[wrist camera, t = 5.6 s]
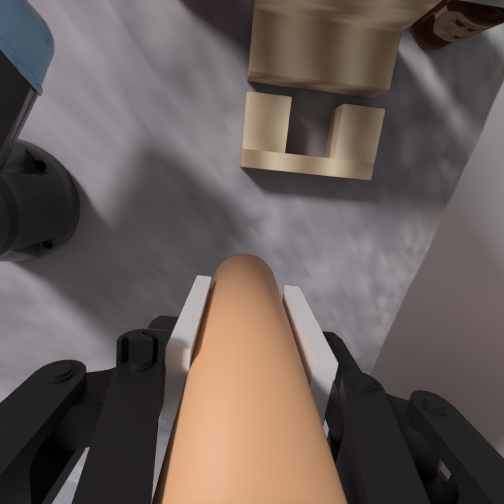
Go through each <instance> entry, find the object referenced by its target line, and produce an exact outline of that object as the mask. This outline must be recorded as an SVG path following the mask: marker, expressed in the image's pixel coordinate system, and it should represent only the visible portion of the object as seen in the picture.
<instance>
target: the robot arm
mask: <svg viewBox="0 0 504 504" xmlns="http://www.w3.org/2000/svg"><path fill="white" fill-rule="evenodd" d="M53 54H54V39H53V36H52V33H51V31H50V29H49V27H48V25H47V24H46V22H45V21H44V20H43V18H42V17H41V16H40V14H39V13H38V12H37V11H36V10H35V9H34V8H33V7H32V6H31V5H30V4H29V3H28V1H27V0H0V261H27V260H32V259H36V258H39V257H42V256H44V255H47V254H49V253H51V252H53V251H55V250H57V249H59V248H60V247H61V246H63V245H64V244H65V243H66V242H67V241H68V240H69V239H70V237H71V236H72V234H73V233H74V231H75V228H76V226H77V223H78V219H79V200H78V195H77V191H76V188H75V186H74V184H73V182H72V180H71V178H70V176H69V174H68V173H67V171H66V170H65V169H64V168H63V166H62V165H61V164H60V163H59V162H58V161H57V160H56V159H55V158H54V157H53V156H52V155H50V154H49V153H48V152H46V151H45V150H43V149H42V148H40V147H38V146H36V145H34V144H32V143H29V142H27V141H23V140H20V139H17V138H18V136H19V134H20V132H21V130H22V128H23V126H24V124H25V122H26V120H27V118H28V115H29V113H30V111H31V109H32V107H33V105H34V103H35V101H36V99H37V97H38V95H40V96H41V94H42V92H43V89H42V83H43V80H44V78H45V75H46V73H47V70H48V67H49V65H50V62H51V60H52V57H53ZM211 280H212V277H208V276H200V275H197V277H196V280H195V282H194V284H193V286H192V289H191V291H190V293H189V296H188V298H187V300H186V303H185V305H184V307H183V309H182V312H181V314H180V316H179V317H171V316H159V317H157V318H156V319H154V320H153V321H152V322H151V323H150V325H149V327H148V329H138V330H133V331H129V332H126V333H125V334H123V335H121V336H120V337H119V339H118V340H117V357H116V367H115V368H112V369H109V370H103V371H96V372H88V373H86V366H85V365H84V364H83V363H82V362H80V361H76V360H60V361H56V362H52V363H50V364H47V365H45V366H43V367H41V368H40V369H38V370H37V371H35V372H34V373H33V374H32V375H31V376H30V377H29V378H28V379H27V380H25V381H24V382H23V383H22V384H21V385H20V386H19V387H18V388H16V389H15V390H14V391H13V392H12V393H11V394H10V395H9V396H8V397H6V398H5V399H4V400H3V401H2V402H1V403H0V504H52V502H53V501H54V499H55V498H56V496H57V494H58V493H59V491H60V489H61V488H62V486H63V485H64V483H65V481H66V480H67V478H68V477H69V475H70V473H71V472H72V470H73V468H74V467H75V465H76V464H77V462H78V460H79V459H80V457H81V455H82V454H83V452H84V450H85V448H87V447H90V448H89V451H88V454H87V457H86V461H85V464H84V467H83V470H82V473H81V476H80V479H79V482H78V485H77V489H76V492H75V495H74V498H73V501H72V504H151V501H152V490H153V478H154V467H155V455H156V443H157V432H158V419H159V416H160V413H161V410H162V414H161V420H172V421H174V420H175V416H176V413H177V409H178V405H179V401H180V398H181V394H182V390H183V387H184V383H185V380H186V377H187V374H188V372H189V369H190V365H191V361H192V357H193V354H194V350H195V346H196V342H197V339H198V335H199V331H200V327H201V324H202V320H203V316H204V312H205V309H206V305H207V301H208V297H209V294H210V289H211ZM282 302H283V306H284V309H285V312H286V315H287V318H288V321H289V324H290V327H291V330H292V333H293V336H294V340H295V343H296V346H297V349H298V352H299V355H300V358H301V361H302V364H303V367H304V370H305V374H306V377H307V380H308V383H309V386H310V389H311V392H312V395H313V398H314V401H315V404H316V407H317V411H318V414H319V417H320V420H321V423H322V426H323V425H324V421H325V419H326V422H327V425H328V428H329V432H328V436H327V441H328V445H329V448H330V451H331V454H332V457H333V460H334V463H335V466H336V469H337V472H338V475H339V479H340V482H341V485H342V488H343V491H344V494H345V497H346V500H347V503H348V504H504V458H503V457H502V456H501V455H500V454H499V453H498V452H497V451H496V450H495V449H494V448H493V447H492V446H491V445H490V443H488V442H487V440H486V439H485V438H484V437H483V436H482V435H481V434H480V433H479V432H478V431H477V430H476V429H475V428H474V427H473V426H472V425H471V424H470V423H469V422H468V421H467V420H466V419H465V418H464V416H463V415H461V413H460V412H459V411H458V410H457V409H456V408H455V407H454V406H453V405H451V404H450V403H449V402H448V401H447V400H445V399H443V398H442V397H440V396H439V395H437V394H433V393H431V392H427V391H422V390H419V391H414V392H413V393H412V394H411V396H410V399H409V401H408V400H404V399H401V398H398V397H395V396H392V395H389V394H386V393H385V391H384V388H383V387H382V385H381V384H380V383H379V382H378V381H377V380H376V379H374V378H373V377H371V376H369V375H368V374H365V373H362V372H361V370H360V368H359V367H358V365H357V363H356V362H355V360H354V359H353V357H352V355H351V354H350V352H349V350H348V349H347V348H346V345H345V344H344V342H343V341H342V339H341V338H340V337H338V336H337V335H336V334H335V333H333V332H324V331H321V329H320V327H319V325H318V323H317V321H316V319H315V317H314V315H313V313H312V311H311V309H310V308H309V306H308V304H307V302H306V300H305V298H304V296H303V294H302V292H301V290H300V288H299V287H296V286H287V285H285V288H284V294H283V300H282ZM443 463H444V464H445V466H446V467H447V468H448V470H449V471H450V472H451V476H450V478H449V480H448V479H447V478H446V477H445V476H444V474H443V473H442V472H441V467H442V465H443Z"/></svg>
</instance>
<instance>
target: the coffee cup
mask: <svg viewBox="0 0 504 504" xmlns="http://www.w3.org/2000/svg"><path fill="white" fill-rule="evenodd" d="M502 23H504V8H503V7H497V6H491V5H485V4H479V3H473V2H467V1H461V0H442V1H441V2H439V3H438V4H437V5H436V6H434V7H433V8H432V9H431V10H429V11H428V12H427V13H426V14H425V15H423V16H422V17H421V18H420V19H418V20H417V21H416V22H415V23H413V24H412V32H413V34H414V37H415V38H416V40H417V42H418V43H419V44H420V45H421V46H423V47H424V48H428V49H433V50H436V49H440V48H443V47H444V46H446V45H448V44H450V43H452V42H456V41H460V40H463V39H466V38H468V37H470V36H473V35H475V34H477V33H479V32H482V31H484V30H487V29H490V28H492V27H495V26H497V25H500V24H502Z"/></svg>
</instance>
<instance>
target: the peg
mask: <svg viewBox="0 0 504 504" xmlns="http://www.w3.org/2000/svg"><path fill="white" fill-rule="evenodd" d="M152 504H348V503H347V500H346V497H345V494H344V491H343V488H342V485H341V482H340V479H339V475H338V472H337V469H336V466H335V463H334V460H333V457H332V454H331V451H330V448H329V445H328V441H327V438H326V435H325V432H324V429H323V426H322V423H321V420H320V417H319V414H318V411H317V407H316V404H315V401H314V398H313V395H312V392H311V389H310V386H309V383H308V380H307V377H306V374H305V370H304V367H303V364H302V361H301V358H300V355H299V352H298V349H297V346H296V343H295V340H294V336H293V333H292V330H291V327H290V324H289V321H288V318H287V315H286V312H285V309H284V306H283V302H282V299H281V296H280V293H279V290H278V287H277V284H276V281H275V278H274V275H273V272H272V270H271V268H270V267H269V265H268V264H267V263H266V262H265V261H263V260H262V259H260V258H259V257H257V256H254V255H250V254H238V255H234V256H231V257H229V258H227V259H226V260H224V261H223V262H222V263H221V264H220V265H219V266H218V268H217V269H216V271H215V273H214V276H213V280H212V284H211V289H210V294H209V297H208V301H207V305H206V309H205V312H204V316H203V320H202V324H201V327H200V331H199V335H198V339H197V342H196V346H195V350H194V354H193V357H192V361H191V365H190V369H189V372H188V374H187V377H186V380H185V383H184V387H183V390H182V394H181V398H180V401H179V405H178V409H177V413H176V416H175V420H174V424H173V427H172V431H171V435H170V438H169V442H168V446H167V449H166V453H165V457H164V460H163V464H162V468H161V471H160V475H159V479H158V482H157V486H156V490H155V493H154V497H153V501H152Z"/></svg>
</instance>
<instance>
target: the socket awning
mask: <svg viewBox="0 0 504 504" xmlns="http://www.w3.org/2000/svg"><path fill="white" fill-rule="evenodd" d="M441 1H442V0H255V3H254V11H253V21H252V33H251V45H250V56H249V68H248V80H247V82H255V83H263V84H270V85H278V86H285V87H293V88H301V89H308V90H316V91H323V92H331V93H338V94H346V95H354V96H361V97H369V98H374V97H376V96H378V95H380V94H382V93H384V92H386V91H388V90H390V85H391V80H392V75H393V70H394V65H395V61H396V56H397V51H398V46H399V41H400V36H401V33H402V32H403V31H405V30H406V29H407V28H408V27H410V26H411V25H412V24H413V23H415V22H416V21H417V20H418V19H420V18H421V17H422V16H423V15H425V14H426V13H427V12H428V11H429V10H431V9H432V8H433V7H434V6H436V5H437V4H438V3H439V2H441ZM461 1H467V2H473V3H479V4H485V5H491V6H497V7H503V8H504V0H461ZM291 100H292V97H288V96H281V95H273V94H265V93H257V92H250V91H247V96H246V103H245V115H244V126H243V138H242V150H241V161H240V167H247V168H257V169H266V170H276V171H285V172H295V173H304V174H314V175H323V176H333V177H342V178H352V179H362V180H371V177H372V172H373V167H374V163H375V158H376V153H377V148H378V143H379V138H380V133H381V129H382V124H383V119H384V114H385V109H381V108H374V107H366V106H358V105H350V104H342V105H340V106H339V107H337V108H335V109H334V110H332V114H331V120H330V126H329V132H328V139H327V145H326V151H325V157H324V158H323V157H314V156H305V155H296V154H287V153H285V148H286V140H287V132H288V124H289V116H290V108H291Z"/></svg>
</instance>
